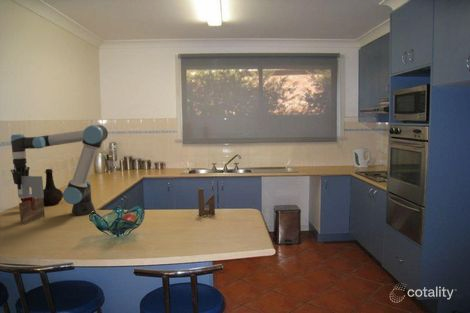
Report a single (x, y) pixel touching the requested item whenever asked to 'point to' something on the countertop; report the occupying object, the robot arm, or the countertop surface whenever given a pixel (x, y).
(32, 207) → the plastic cup
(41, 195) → the notched grey panel
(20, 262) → the countertop surface
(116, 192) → the countertop surface
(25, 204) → the walnut board
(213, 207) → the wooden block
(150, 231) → the countertop surface
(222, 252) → the countertop surface
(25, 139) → the robot arm
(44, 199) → the dark brown vase
